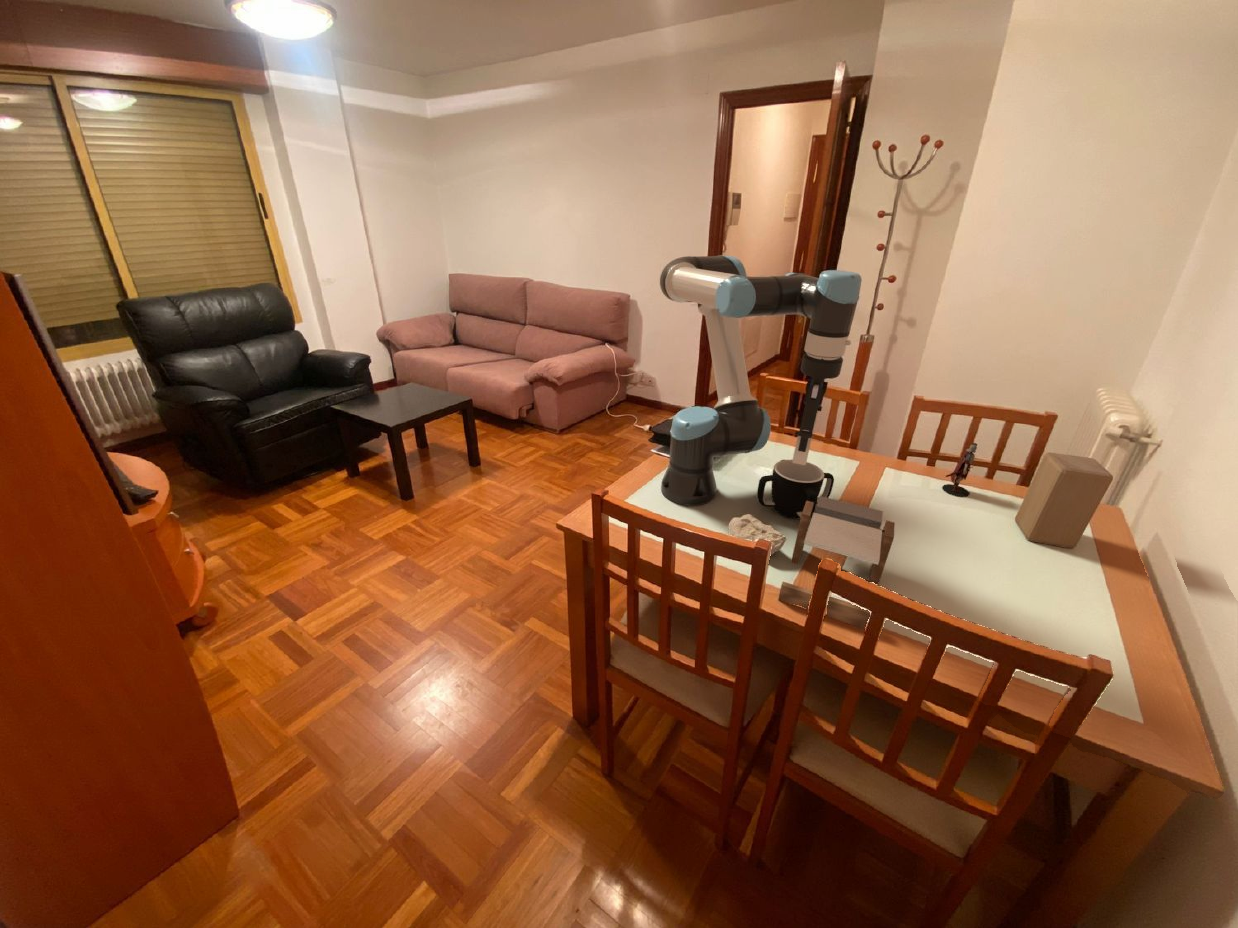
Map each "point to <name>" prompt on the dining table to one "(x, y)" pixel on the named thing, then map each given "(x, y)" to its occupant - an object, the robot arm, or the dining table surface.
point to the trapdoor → (846, 529)
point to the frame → (835, 606)
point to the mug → (794, 487)
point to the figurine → (961, 473)
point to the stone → (756, 531)
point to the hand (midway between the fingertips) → (802, 450)
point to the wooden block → (1062, 499)
